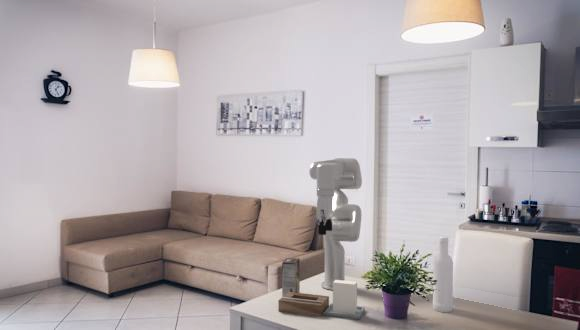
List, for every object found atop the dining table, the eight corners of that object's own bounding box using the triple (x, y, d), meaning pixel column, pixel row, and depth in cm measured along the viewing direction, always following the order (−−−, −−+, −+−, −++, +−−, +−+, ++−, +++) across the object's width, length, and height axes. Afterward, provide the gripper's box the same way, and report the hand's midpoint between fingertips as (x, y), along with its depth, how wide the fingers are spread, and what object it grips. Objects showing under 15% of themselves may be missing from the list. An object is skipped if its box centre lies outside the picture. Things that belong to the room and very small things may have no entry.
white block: (335, 308, 196) (335, 279, 196) (356, 311, 194) (357, 281, 193) (332, 311, 193) (332, 282, 192) (354, 314, 190) (355, 284, 189)
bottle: (455, 312, 194) (456, 239, 192) (436, 312, 194) (437, 239, 192) (448, 305, 202) (449, 235, 200) (430, 306, 202) (430, 235, 200)
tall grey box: (286, 292, 221) (286, 257, 220) (299, 292, 220) (299, 258, 219) (281, 298, 212) (281, 262, 211) (296, 299, 211) (296, 263, 210)
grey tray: (331, 306, 201) (331, 303, 201) (364, 310, 196) (364, 307, 196) (324, 315, 190) (324, 311, 190) (359, 319, 186) (359, 315, 186)
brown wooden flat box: (288, 302, 207) (288, 290, 206) (328, 306, 200) (328, 295, 200) (278, 311, 195) (278, 299, 195) (321, 316, 189) (321, 303, 189)
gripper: (322, 190, 214) (322, 228, 214) (311, 194, 197) (311, 235, 198) (338, 191, 211) (338, 229, 212) (328, 195, 195) (328, 236, 196)
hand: (325, 232), depth 205 cm, fingers open, 9 cm apart
